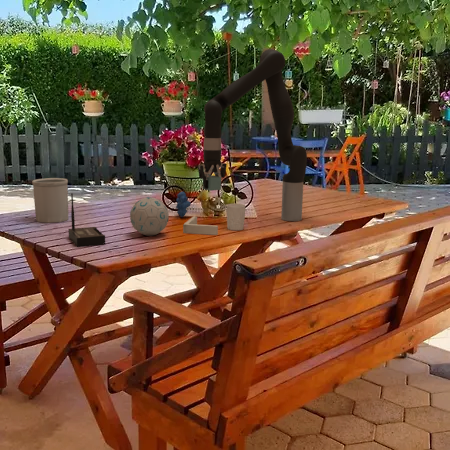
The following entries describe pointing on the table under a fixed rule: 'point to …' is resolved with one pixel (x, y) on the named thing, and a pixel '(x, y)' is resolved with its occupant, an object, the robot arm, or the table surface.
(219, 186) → the teal block
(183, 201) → the grapes
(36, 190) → the utensil holder
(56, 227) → the table surface
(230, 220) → the white cup
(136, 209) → the puzzle ball
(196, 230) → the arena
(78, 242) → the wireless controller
